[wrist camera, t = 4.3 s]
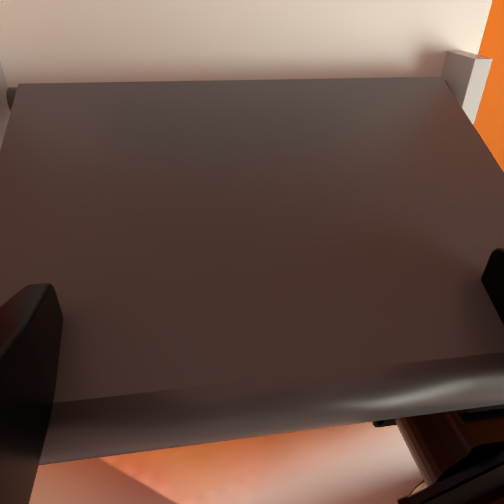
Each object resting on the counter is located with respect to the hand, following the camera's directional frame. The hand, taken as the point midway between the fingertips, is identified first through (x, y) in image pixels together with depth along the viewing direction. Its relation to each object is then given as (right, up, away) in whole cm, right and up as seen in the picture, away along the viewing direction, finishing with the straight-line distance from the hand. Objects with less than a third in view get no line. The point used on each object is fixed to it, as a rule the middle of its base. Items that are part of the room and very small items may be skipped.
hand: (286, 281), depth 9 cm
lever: (-1, +6, +5) cm, 8 cm away
